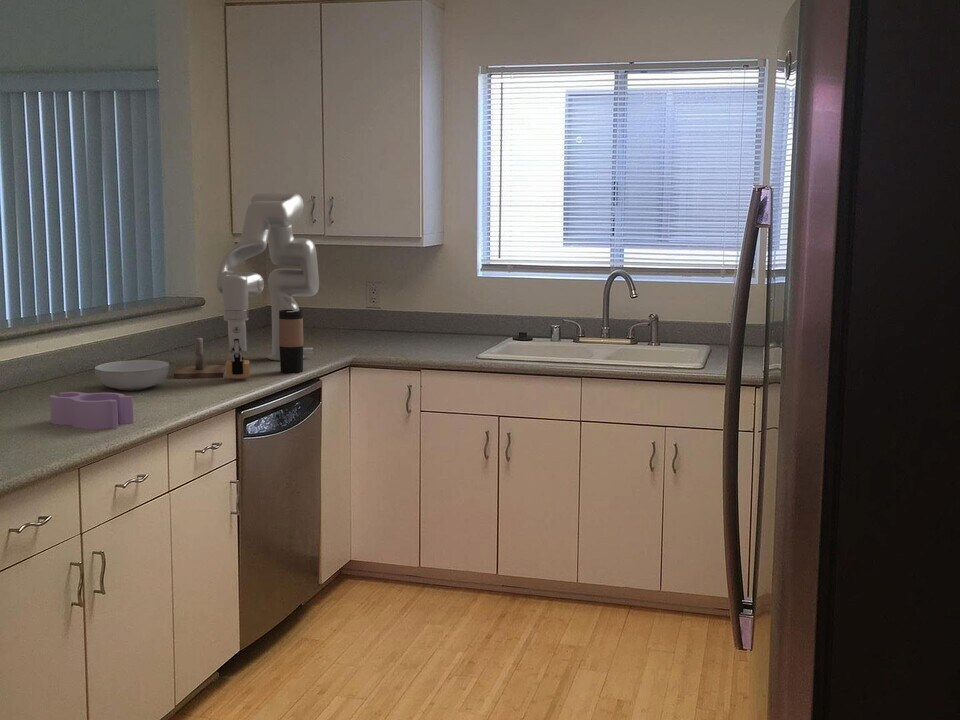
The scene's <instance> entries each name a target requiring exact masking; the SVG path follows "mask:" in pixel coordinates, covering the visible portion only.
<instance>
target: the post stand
mask: <svg viewBox="0 0 960 720" xmlns="http://www.w3.org/2000/svg"><path fill="white" fill-rule="evenodd" d="M203 341H204V340H203V337H195V338H194V353H195V354H194V355H195V360H194V361H195V365H179V366H178V365H177V366H176V368H175V370H174V372H173V379H205V378H206V379H207V378H208V379H209V378H210V379H211V378H224V373H225V371H226V365H225V364H224V365H222V364H220V365H219V364H218V365H217V364H216V365H204V342H203Z"/></svg>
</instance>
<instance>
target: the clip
mask: <svg viewBox="0 0 960 720" xmlns="http://www.w3.org/2000/svg"><path fill="white" fill-rule="evenodd" d="M49 407H50V423H51V424H53V425H56V424H59V425H61V426H72V425H73V426H72V427H74V428H76V429H80V428H81V429H83V430H104V428H106V429H111V430H117V429H116V428H118V429H119V424H120V425H128V424H129V425H130V424H134V423H135V421H134V420H135V419H134V418H135V417H134V398H133V395H125V394H124V393H119V392H81V391H67V392H59V396H57V395H56V394H50V395H49ZM119 421H120V422H119ZM59 425H58V426H59Z"/></svg>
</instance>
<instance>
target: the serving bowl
mask: <svg viewBox="0 0 960 720" xmlns="http://www.w3.org/2000/svg"><path fill="white" fill-rule="evenodd" d="M169 369H170V363H169V362H167V361H164V360H163V361H162V360H158V359H157V360H155V359H154V360H153V359H132V360H131V359H130V360H118V361H111V362H106V363H101V364H98V365H95V367H94V373H95V376H96V378H97V380H98V381H99V382H100V383H101V384H102V385H104V386H106V387H108V388H111V389H117V390H119V391H140V390H141V391H142V390H147V389H148V388H151V387H153V386H156V385H159V384H160V383H162V382H163V381H164V380H165V379H166V378H167V376H168V373H169Z"/></svg>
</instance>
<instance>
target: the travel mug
mask: <svg viewBox="0 0 960 720" xmlns="http://www.w3.org/2000/svg"><path fill="white" fill-rule="evenodd" d="M303 312H304V311H303V310H301V309H299V311H293V310H280V311H279V348H280V361H279V364H280V372H282V373H281V374H287V373H295V374H301V373H303V372H304V358H303V347H304V319H303V318H304V317H303ZM300 372H301V373H300Z"/></svg>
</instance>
